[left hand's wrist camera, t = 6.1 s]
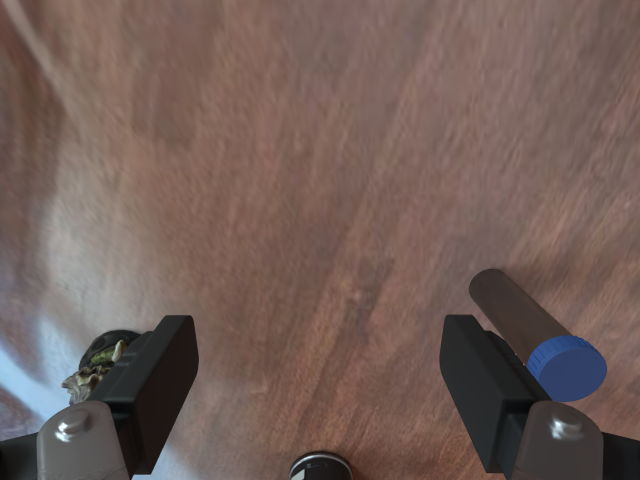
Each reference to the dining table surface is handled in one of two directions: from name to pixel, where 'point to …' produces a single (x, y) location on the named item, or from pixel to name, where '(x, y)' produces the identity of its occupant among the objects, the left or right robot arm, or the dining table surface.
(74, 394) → the figurine
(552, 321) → the brown cylinder
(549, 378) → the lid
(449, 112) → the dining table surface
